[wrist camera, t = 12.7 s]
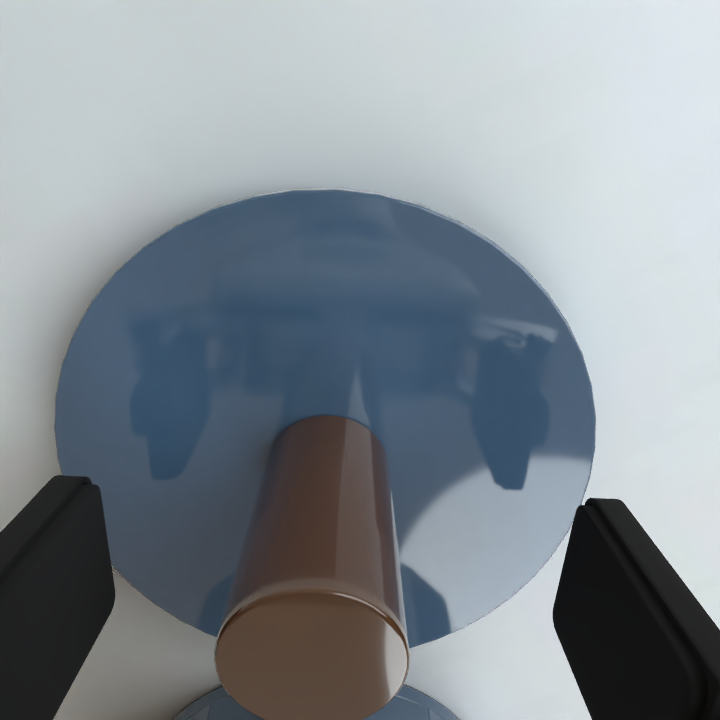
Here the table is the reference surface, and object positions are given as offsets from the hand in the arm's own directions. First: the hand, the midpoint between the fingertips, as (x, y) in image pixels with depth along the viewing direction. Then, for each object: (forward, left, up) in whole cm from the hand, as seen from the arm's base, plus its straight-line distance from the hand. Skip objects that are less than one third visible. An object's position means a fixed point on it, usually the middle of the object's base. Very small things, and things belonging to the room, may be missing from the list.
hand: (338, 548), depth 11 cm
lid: (-1, 0, -3) cm, 3 cm away
